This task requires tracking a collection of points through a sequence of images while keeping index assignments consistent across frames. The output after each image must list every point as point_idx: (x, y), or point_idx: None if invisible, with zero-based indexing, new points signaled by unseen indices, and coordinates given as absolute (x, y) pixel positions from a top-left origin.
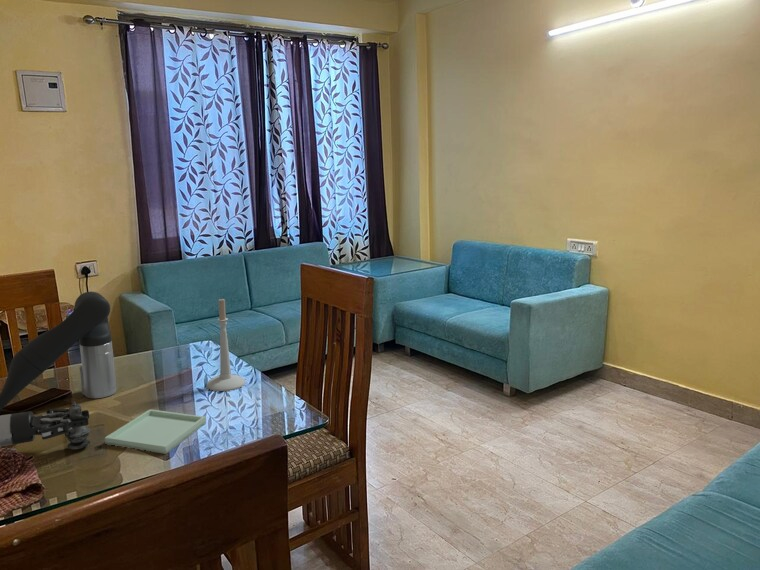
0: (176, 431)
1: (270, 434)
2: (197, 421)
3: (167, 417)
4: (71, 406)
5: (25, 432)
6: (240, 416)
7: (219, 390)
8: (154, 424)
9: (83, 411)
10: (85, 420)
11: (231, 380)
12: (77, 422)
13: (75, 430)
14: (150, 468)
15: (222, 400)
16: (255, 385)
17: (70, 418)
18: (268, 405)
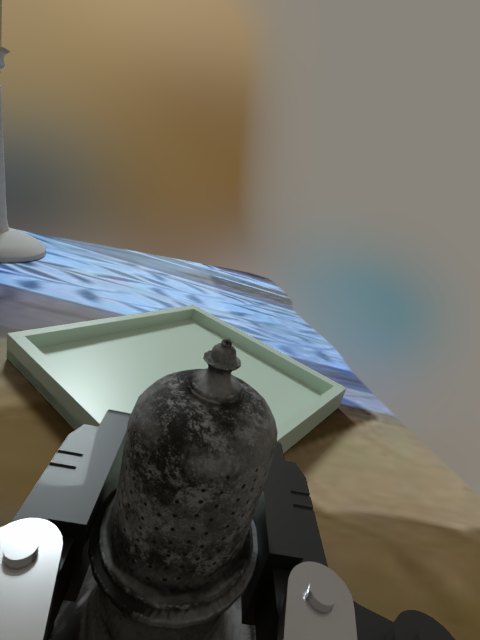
0: None
1: (291, 306)
2: (213, 317)
3: (101, 338)
4: (237, 421)
5: None
6: (194, 294)
7: (21, 258)
8: (129, 368)
9: (123, 433)
10: (289, 469)
11: (20, 234)
12: (312, 530)
13: (222, 630)
14: (425, 453)
15: (82, 276)
16: (59, 245)
17: (211, 578)
18: (173, 271)
